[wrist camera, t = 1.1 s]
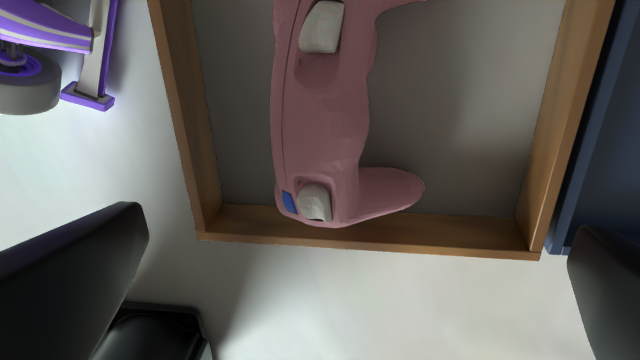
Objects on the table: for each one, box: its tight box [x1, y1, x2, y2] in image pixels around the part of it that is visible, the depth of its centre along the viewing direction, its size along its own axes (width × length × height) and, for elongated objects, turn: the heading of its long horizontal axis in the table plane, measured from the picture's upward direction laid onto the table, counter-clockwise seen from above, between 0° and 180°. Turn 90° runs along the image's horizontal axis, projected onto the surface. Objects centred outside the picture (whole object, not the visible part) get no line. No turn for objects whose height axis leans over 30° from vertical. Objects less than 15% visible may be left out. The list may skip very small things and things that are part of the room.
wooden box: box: [147, 0, 616, 261], centre depth 16 cm, size 15×14×2 cm
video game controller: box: [270, 0, 424, 228], centre depth 15 cm, size 10×5×7 cm, turn 178°
